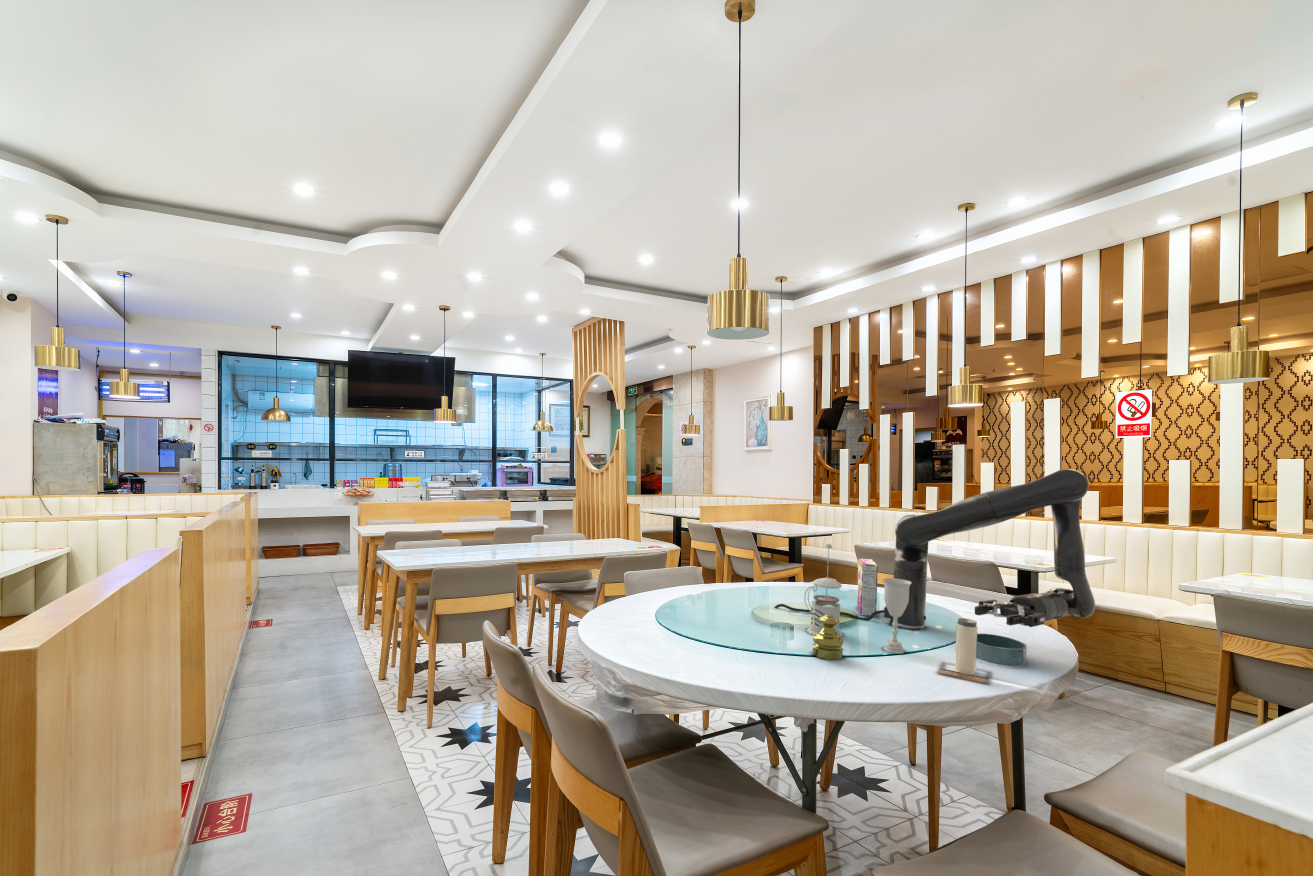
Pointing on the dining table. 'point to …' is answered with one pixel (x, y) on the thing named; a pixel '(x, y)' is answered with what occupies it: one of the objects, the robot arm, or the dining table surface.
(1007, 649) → the bowl
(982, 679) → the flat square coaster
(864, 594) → the candy bar box
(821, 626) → the french press
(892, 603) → the chalice
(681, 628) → the dining table surface
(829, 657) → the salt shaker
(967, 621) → the cream shaker
